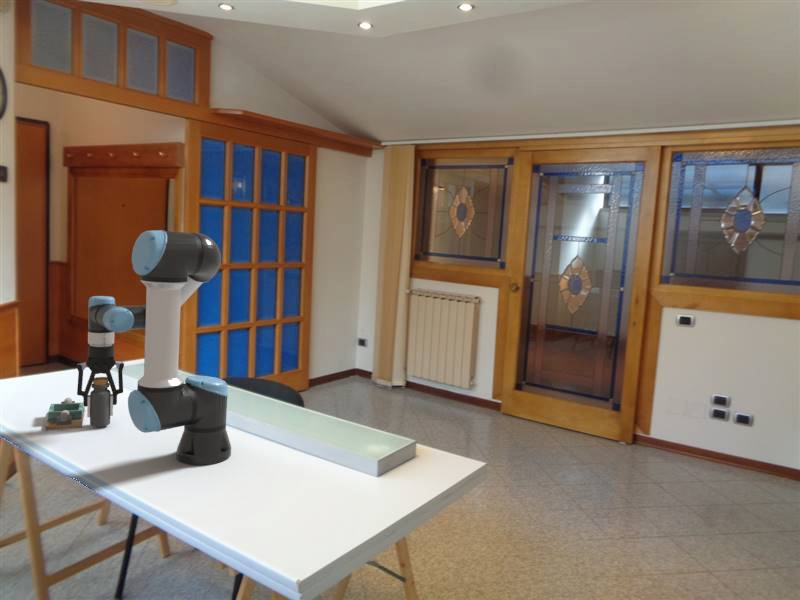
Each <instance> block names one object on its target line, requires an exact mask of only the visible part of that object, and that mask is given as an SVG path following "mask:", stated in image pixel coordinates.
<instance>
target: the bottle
mask: <svg viewBox="0 0 800 600" xmlns="http://www.w3.org/2000/svg"><path fill="white" fill-rule="evenodd" d="M91 388H92V389H93V390H91V391H90V392H89V393H90V394H89V395H90V417H89V426H91V427H96V428H97V427H105V426H108V425H110V424H111V416H110V395H111V394H112V393H111V392H112V391H111V389H108V388H110V384H109V381H108V378H107V376H97V377H94V379H93V382H92V385H91Z"/></svg>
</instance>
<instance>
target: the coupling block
mask: <svg viewBox="0 0 800 600" xmlns="http://www.w3.org/2000/svg"><path fill="white" fill-rule="evenodd" d="M85 412H86V411H85V407H84V405H83V402H76V401H75V400H73V399H72V398H71V397H66V398H64V400H63V401H61V402H60V403H51V404H50V406H49V409H48V411H47V421H46V424H45V427H44V428H45V429H44V430H45V431H51V430H54V431H55V430H66V429H67V430H68V429H79V428H80V429H81V428H83V424H84V415H85Z"/></svg>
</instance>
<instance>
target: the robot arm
mask: <svg viewBox="0 0 800 600" xmlns="http://www.w3.org/2000/svg"><path fill="white" fill-rule="evenodd" d="M221 261H222V255H221V251H220V249H219V246H218V245H217V243H216V242H215V241H214V240H213V239H212V238H210V237H209V236H207V235H205V234H203V233H201V232H188V231H187V232H186V231H173V230H164V229H163V230H162V229H160V230H159V229H158V230H154V229H153V230H146V231H144V232H141V234H139V236H138V237H137V239H136V240H135V243H134V244H133V248H132V253H131V264H132V269H133V271H134V272H135V273H136V274H137V275H139V276H140V282H141V283H142V285H144V286H145V287H146V294H145V295H146V296H145V297H146V299H145V301H146V302H145V303H146V304H145V305H116V304H117V303H116V299H115V298H114V297H113V296H108V295H107V296H106V295H94V296H91V297H89V299H88V307H87V311H88V312H87V314H88V315H87V316H88V317H87V319H88V323H87V326H88V330H87V344H88V346H87V359H86V361H85V362H82V363H81V362H79V363H77V365H76V368H77V371H78V376H77V390H76V394H77V396H81V397H82V398H83V402H82V403H83V407H87V410H86V411H87V412H86V413H87V414H86V416H87V418H90V394H89V393H90V392H91V391H90V390H91V388H92V384H93V379H94V378H96V377H95V376H96V375H99V374H105V375H106V377H107V378H108V383H109V388H110V391H111V392H112V393H111V395H110V417H112V416H113V415H114V414H113V413H114V412H113V411H114V410H113V409H114V406H116V405H117V403H118V395H119V394H123V393H124V380H123V378H124V377H123V369H124V367H125V362H124V361H121V362H120V361H117V360H116V359H115V345H114V344H115V333H126V332H128V331H133V330H145V331H144V362H143V363H144V364H143V365H144V366H143V367H144V368H143V375H142V377H140V379H138V380H137V388H136V389H134V390H132V391H131V392H130V393H129V395H128V398H127V407H128V408H127V409H128V413H129V416H130V418H131V421H132V423H133V425H134V427H135V428H136V429H137V430H139V431H140V432H141V433H154V432H156V433H157V432H161V431H165V430H169V429H170V430H171V429H174V428H175V429H176V428H179V427H183V432H182V435H181V437H180V439H179V443H178V445H177V447H176V459H177V460H178V461H180V462H182V463H184V464H189V465H195V466H196V465H203V466H204V465H212V464H213V465H214V464H217V463H221V462H223V461H225V460H228V459H229V458H230V457H231V456H232V445H231V441H230V439H229V435H228V431H227V413H228V411H227V410H228V407H227V406H228V397H229V395H228V393H229V392H228V383H227V382H226V381H225V380H223V379H221V378H219V377H215V376H208V375H189V376H186V378H185V380H184V379H183V378H182V377H181V376H179V357H180V356H179V355H180V352H179V351H180V328H181V327H180V326H181V308H182V306H183V305H184V304H185V303H186V302H187V300H188V299H190V297H192V295H193V294H194V293H195V292H196V291H197V290H198V289H199V288H200V287H201V285H202V284H204V283H209V282H210V281H211V280H212V279H213V278H214V277H215V275H216V274H217V273H218V271H219V269H220V267H221ZM114 366H115V367H116V370H117V374H118V375H117V376H118V389H117V387H116V385H115V382H114V377H113V375H112V373H111V372H112V371H111V370H112V368H113V367H114ZM86 367H87V368H88V369H89V370H90V371H91V372H90V375H89V378H88V381H87V383H86V386H85V389H84V390H83V382H84V381H83V380H84V370H86Z"/></svg>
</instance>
